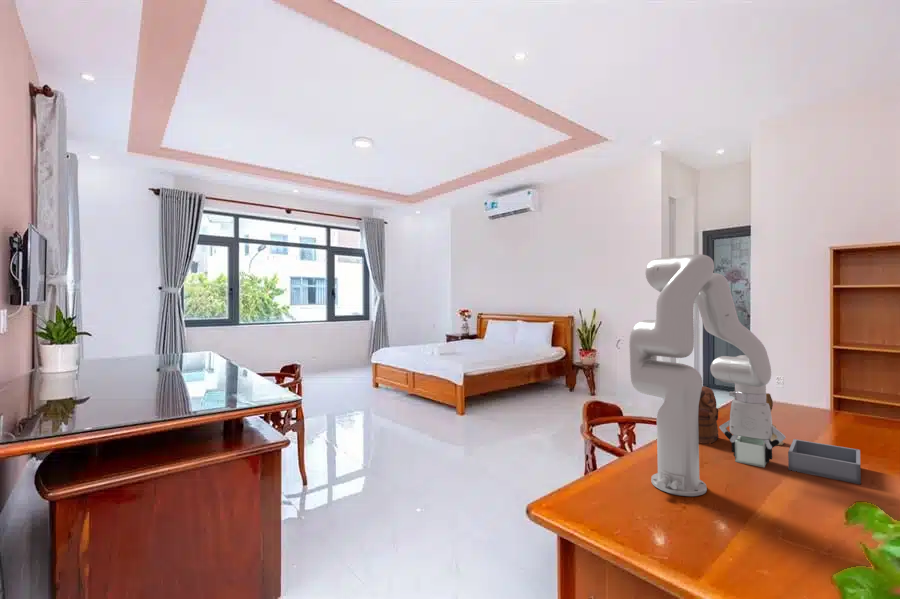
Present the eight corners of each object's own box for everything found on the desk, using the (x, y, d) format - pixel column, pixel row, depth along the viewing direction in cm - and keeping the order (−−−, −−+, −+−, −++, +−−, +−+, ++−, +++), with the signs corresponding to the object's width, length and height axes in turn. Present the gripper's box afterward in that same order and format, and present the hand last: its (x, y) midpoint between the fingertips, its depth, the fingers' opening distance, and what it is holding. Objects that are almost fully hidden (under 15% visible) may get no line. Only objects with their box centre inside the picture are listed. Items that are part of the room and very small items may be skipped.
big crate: (860, 484, 110) (860, 465, 110) (788, 469, 120) (788, 452, 120) (860, 467, 121) (860, 449, 121) (793, 455, 131) (793, 439, 131)
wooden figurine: (707, 445, 141) (706, 390, 141) (687, 441, 146) (686, 387, 146) (722, 438, 148) (721, 385, 148) (702, 433, 153) (701, 383, 153)
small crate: (764, 467, 122) (763, 446, 122) (735, 461, 127) (734, 441, 127) (768, 460, 128) (767, 440, 128) (739, 455, 132) (739, 435, 132)
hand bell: (773, 437, 148) (772, 390, 148) (789, 445, 140) (788, 396, 140) (747, 437, 149) (746, 390, 149) (762, 445, 140) (761, 396, 140)
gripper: (713, 395, 131) (714, 454, 131) (786, 404, 119) (787, 469, 119) (719, 391, 136) (720, 448, 136) (789, 399, 124) (790, 461, 124)
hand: (751, 457), depth 127 cm, fingers closed on small crate, 7 cm apart
